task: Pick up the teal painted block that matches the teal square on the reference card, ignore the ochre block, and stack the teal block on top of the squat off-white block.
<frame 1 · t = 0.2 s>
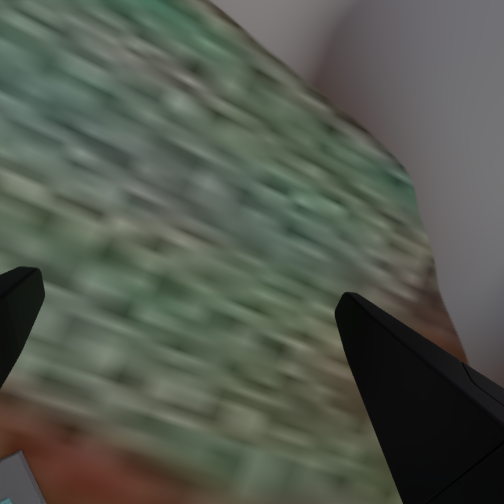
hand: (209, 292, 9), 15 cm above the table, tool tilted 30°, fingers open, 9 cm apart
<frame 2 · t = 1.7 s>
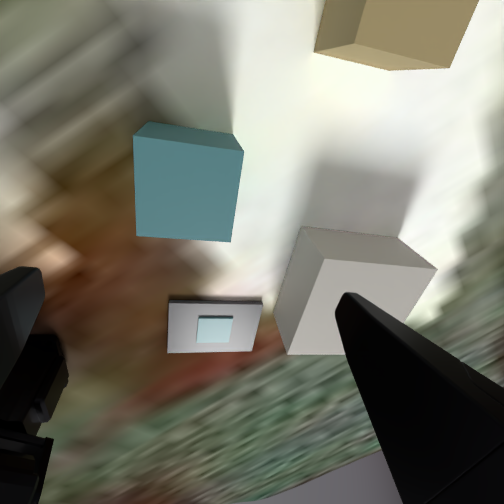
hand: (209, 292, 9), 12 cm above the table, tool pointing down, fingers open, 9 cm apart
teal block: (189, 168, 18), on the table
ochre block: (367, 8, 16), on the table
reference card: (214, 326, 26), on the table
white block: (331, 275, 26), on the table
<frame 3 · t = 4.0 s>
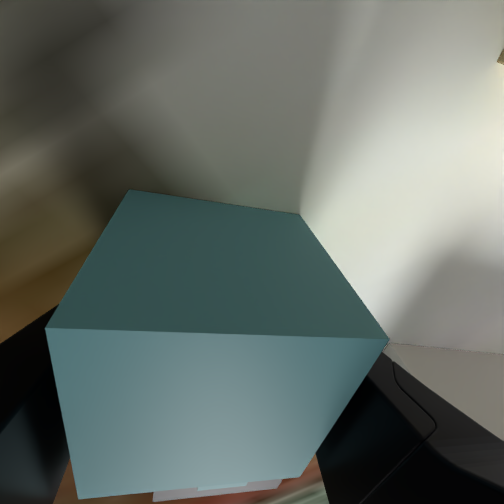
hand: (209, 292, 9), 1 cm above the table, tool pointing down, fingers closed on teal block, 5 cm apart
teal block: (208, 272, 9), on the table, touching gripper
reference card: (225, 465, 17), on the table
white block: (408, 397, 17), on the table
when the fingers open (7 cm above the table, at t = 7.7 s): teal block drops 2 cm, resting on white block.
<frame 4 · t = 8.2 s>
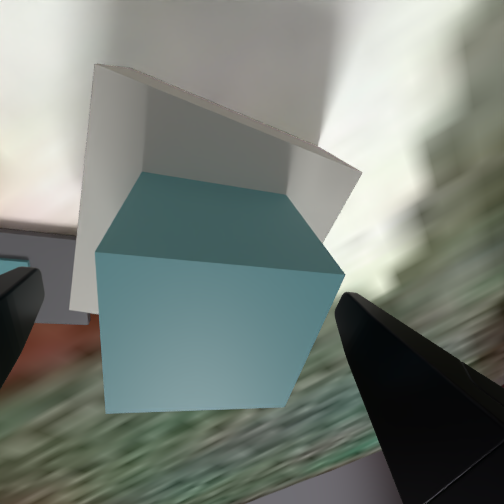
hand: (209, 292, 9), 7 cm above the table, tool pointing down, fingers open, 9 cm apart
teal block: (208, 245, 11), point 5 cm above the table, touching white block
reference card: (5, 276, 15), on the table
white block: (205, 198, 15), on the table, touching teal block
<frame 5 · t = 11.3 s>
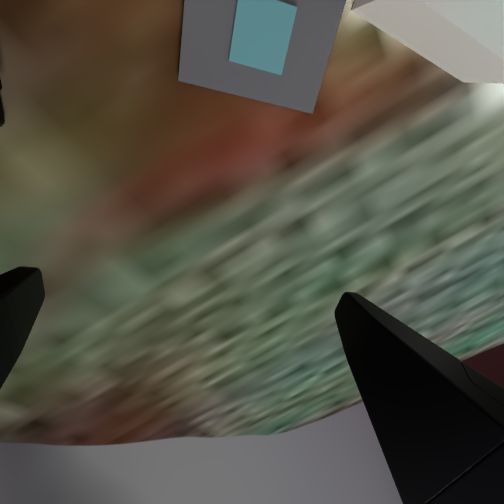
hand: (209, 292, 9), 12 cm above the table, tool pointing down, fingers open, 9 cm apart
reference card: (260, 35, 15), on the table
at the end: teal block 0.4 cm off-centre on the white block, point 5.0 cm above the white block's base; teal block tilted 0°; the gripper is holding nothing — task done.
